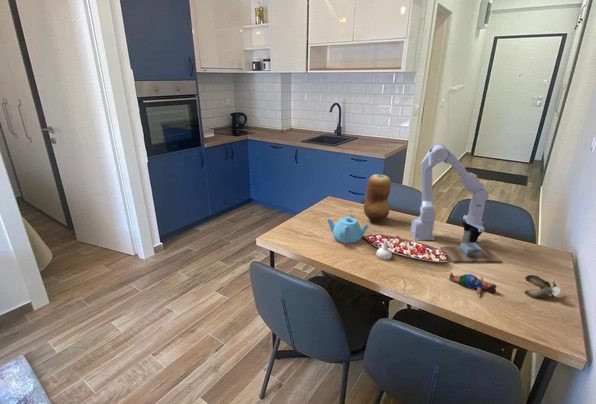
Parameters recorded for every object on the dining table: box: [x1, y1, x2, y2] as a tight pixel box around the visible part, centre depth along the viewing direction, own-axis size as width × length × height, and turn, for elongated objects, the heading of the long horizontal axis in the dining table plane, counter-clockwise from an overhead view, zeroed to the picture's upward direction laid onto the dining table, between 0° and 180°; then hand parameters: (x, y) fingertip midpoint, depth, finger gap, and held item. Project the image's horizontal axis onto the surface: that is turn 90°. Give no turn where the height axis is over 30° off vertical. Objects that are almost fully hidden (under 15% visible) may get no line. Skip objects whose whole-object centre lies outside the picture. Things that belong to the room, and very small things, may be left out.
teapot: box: [327, 214, 370, 244], centre depth 150 cm, size 15×15×11 cm
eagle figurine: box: [523, 274, 562, 298], centre depth 109 cm, size 8×7×9 cm
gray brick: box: [462, 230, 479, 245], centre depth 146 cm, size 4×4×5 cm
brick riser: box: [439, 242, 503, 264], centre depth 135 cm, size 20×12×4 cm, turn 90°
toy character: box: [449, 272, 498, 296], centre depth 115 cm, size 12×5×15 cm
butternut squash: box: [363, 173, 392, 222], centre depth 167 cm, size 14×13×25 cm
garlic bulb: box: [375, 239, 393, 261], centre depth 134 cm, size 6×6×8 cm
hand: (469, 239), depth 147 cm, fingers closed on gray brick, 4 cm apart
